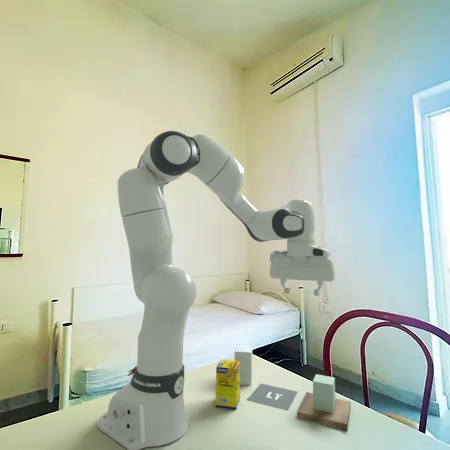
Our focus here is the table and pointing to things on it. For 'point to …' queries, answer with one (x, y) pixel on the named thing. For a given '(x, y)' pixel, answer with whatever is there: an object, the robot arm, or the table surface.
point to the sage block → (324, 393)
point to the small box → (244, 363)
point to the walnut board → (332, 419)
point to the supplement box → (227, 384)
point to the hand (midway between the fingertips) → (301, 294)
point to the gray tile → (273, 396)
